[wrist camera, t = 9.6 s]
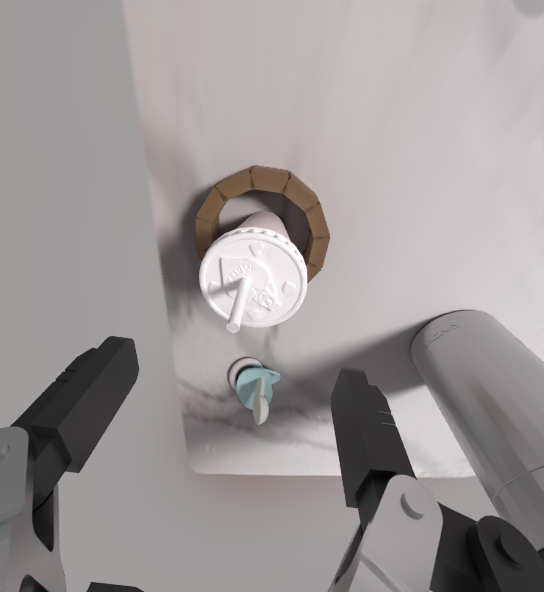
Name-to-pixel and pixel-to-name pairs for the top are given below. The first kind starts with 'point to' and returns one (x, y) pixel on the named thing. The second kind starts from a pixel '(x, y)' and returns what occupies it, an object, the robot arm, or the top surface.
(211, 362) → the top surface
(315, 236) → the brown polygonal ring
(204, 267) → the smoothie
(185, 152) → the top surface
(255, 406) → the pacifier
